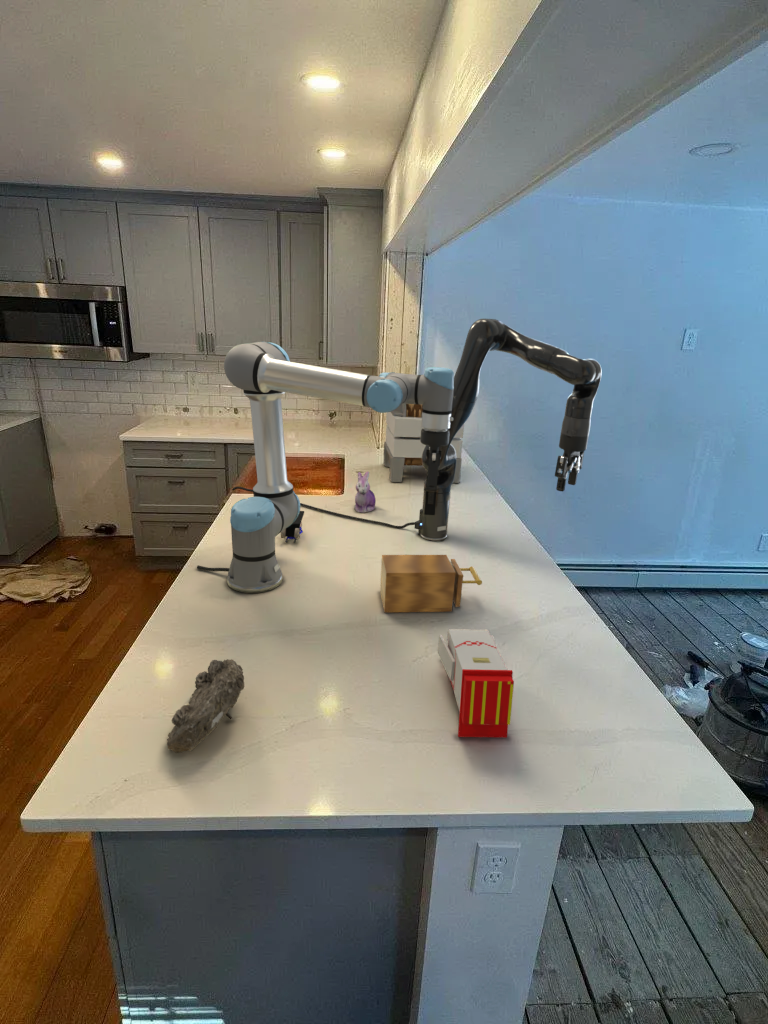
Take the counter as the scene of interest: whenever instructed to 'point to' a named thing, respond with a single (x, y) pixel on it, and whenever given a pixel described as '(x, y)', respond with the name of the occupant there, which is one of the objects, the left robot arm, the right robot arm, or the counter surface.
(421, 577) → the cabinet
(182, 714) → the fossil
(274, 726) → the counter surface
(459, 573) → the drawer
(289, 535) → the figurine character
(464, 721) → the toy
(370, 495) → the figurine
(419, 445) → the grey boxy piece
